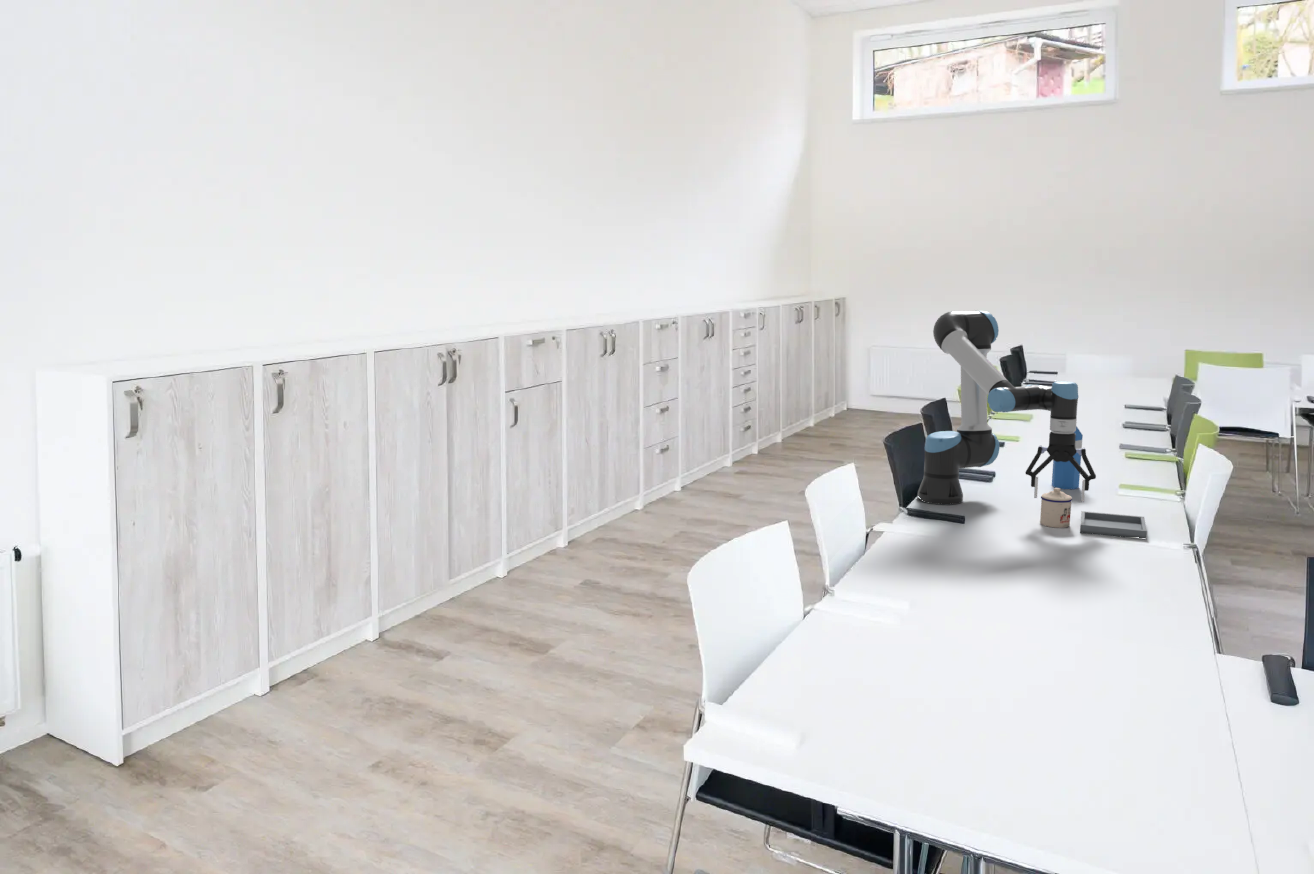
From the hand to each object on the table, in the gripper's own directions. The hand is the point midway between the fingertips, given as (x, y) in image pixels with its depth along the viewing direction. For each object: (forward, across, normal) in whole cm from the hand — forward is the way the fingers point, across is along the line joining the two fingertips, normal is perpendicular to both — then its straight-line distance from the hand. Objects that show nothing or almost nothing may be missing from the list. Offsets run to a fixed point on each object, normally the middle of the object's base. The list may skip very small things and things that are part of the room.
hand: (1058, 499), depth 306 cm
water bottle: (+8, +1, +57) cm, 58 cm away
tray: (+8, +16, 0) cm, 18 cm away
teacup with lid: (+8, 0, 0) cm, 8 cm away
